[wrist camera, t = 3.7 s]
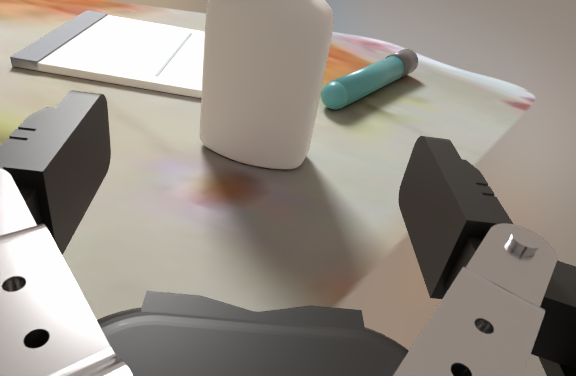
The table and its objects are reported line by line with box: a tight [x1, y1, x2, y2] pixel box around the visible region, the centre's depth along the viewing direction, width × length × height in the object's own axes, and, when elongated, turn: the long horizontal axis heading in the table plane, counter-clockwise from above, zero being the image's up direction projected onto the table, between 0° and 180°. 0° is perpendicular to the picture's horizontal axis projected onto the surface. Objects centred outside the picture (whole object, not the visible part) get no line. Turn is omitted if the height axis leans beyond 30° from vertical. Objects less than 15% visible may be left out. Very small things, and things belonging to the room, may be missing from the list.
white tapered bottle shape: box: [200, 0, 334, 169], centre depth 22 cm, size 4×6×12 cm
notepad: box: [10, 10, 205, 98], centre depth 33 cm, size 11×14×1 cm
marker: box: [321, 49, 418, 109], centre depth 34 cm, size 12×2×2 cm, turn 143°
